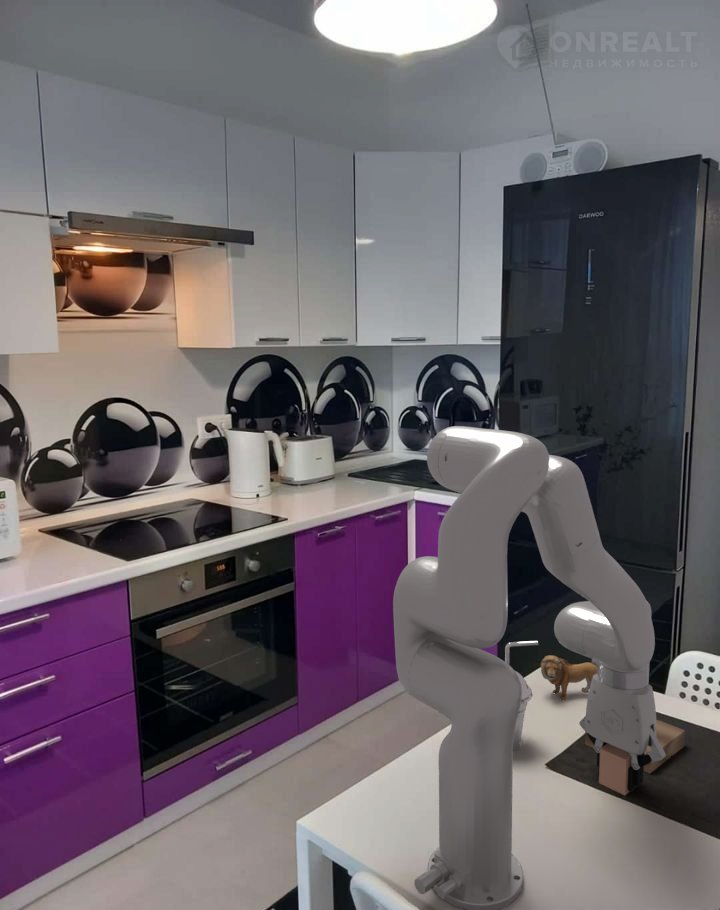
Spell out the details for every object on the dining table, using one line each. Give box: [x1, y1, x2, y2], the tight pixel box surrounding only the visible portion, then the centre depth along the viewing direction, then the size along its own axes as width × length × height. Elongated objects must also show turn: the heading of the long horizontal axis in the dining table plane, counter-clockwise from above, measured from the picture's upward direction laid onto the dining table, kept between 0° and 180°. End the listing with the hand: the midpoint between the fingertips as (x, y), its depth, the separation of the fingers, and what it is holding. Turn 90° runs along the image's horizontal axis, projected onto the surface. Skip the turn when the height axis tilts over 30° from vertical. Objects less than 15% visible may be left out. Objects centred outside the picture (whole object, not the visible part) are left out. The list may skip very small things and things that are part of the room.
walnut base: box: [584, 718, 686, 775], centre depth 129 cm, size 12×12×3 cm
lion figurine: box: [540, 654, 597, 701], centre depth 147 cm, size 15×5×9 cm, turn 102°
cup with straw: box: [504, 640, 540, 752], centre depth 129 cm, size 8×9×20 cm
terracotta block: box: [598, 743, 631, 796], centre depth 118 cm, size 4×4×6 cm
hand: (619, 779), depth 119 cm, fingers closed on terracotta block, 4 cm apart
